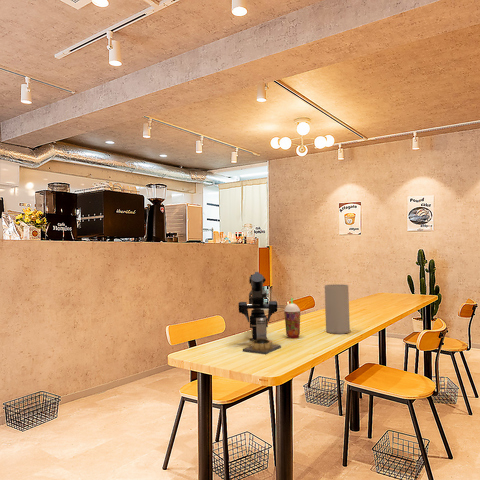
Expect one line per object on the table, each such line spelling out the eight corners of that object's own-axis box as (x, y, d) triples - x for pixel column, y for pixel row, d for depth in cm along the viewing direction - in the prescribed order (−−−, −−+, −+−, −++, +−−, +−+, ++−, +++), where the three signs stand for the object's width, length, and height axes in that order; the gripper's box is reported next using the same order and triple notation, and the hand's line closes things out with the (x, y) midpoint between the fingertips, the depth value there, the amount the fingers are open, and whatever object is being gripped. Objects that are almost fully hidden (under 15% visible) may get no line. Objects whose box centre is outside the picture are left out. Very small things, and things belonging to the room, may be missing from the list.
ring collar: (258, 344, 195) (258, 337, 195) (280, 347, 188) (280, 339, 188) (242, 351, 183) (242, 343, 183) (265, 354, 176) (265, 346, 177)
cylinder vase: (325, 329, 227) (324, 284, 228) (348, 329, 225) (347, 284, 225) (326, 334, 215) (324, 286, 216) (350, 334, 213) (349, 286, 213)
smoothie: (283, 338, 208) (282, 298, 208) (287, 334, 216) (285, 297, 216) (299, 339, 205) (298, 299, 205) (302, 335, 213) (301, 297, 213)
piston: (264, 345, 189) (264, 317, 189) (268, 347, 184) (267, 318, 185) (255, 346, 187) (254, 317, 188) (259, 348, 183) (258, 319, 183)
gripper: (237, 285, 197) (238, 312, 186) (276, 284, 197) (278, 310, 186) (238, 299, 205) (239, 325, 194) (276, 298, 205) (278, 324, 194)
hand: (258, 321), depth 192 cm, fingers open, 9 cm apart
